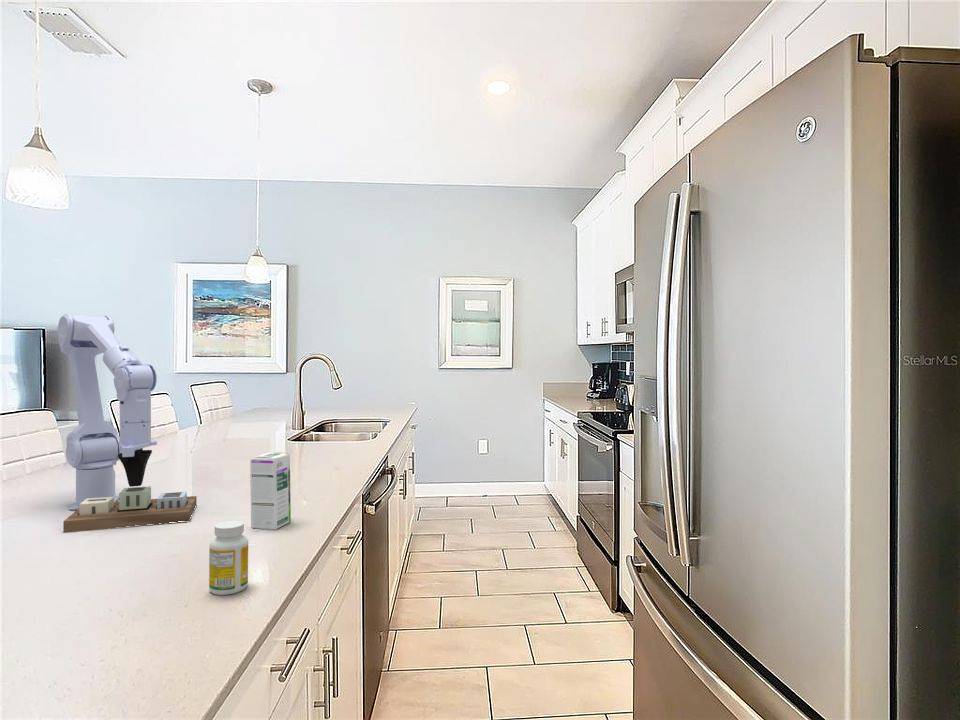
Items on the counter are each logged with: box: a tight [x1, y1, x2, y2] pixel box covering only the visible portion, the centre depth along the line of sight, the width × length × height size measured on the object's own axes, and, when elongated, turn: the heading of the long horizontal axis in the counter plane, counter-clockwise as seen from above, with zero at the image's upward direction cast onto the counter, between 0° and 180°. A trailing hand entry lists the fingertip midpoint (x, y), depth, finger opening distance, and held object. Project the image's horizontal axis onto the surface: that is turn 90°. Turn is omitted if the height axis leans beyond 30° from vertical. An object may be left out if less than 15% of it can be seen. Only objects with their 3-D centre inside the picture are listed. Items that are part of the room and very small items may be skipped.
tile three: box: [156, 491, 188, 509], centre depth 126 cm, size 5×5×4 cm
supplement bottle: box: [208, 520, 249, 596], centre depth 87 cm, size 5×5×10 cm
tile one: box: [79, 497, 114, 515], centre depth 122 cm, size 5×5×4 cm
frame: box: [62, 495, 197, 533], centre depth 124 cm, size 14×22×2 cm, turn 110°
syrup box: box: [249, 452, 292, 531], centre depth 119 cm, size 6×6×14 cm
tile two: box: [118, 485, 152, 510], centre depth 124 cm, size 5×5×4 cm
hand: (135, 485), depth 124 cm, fingers closed
